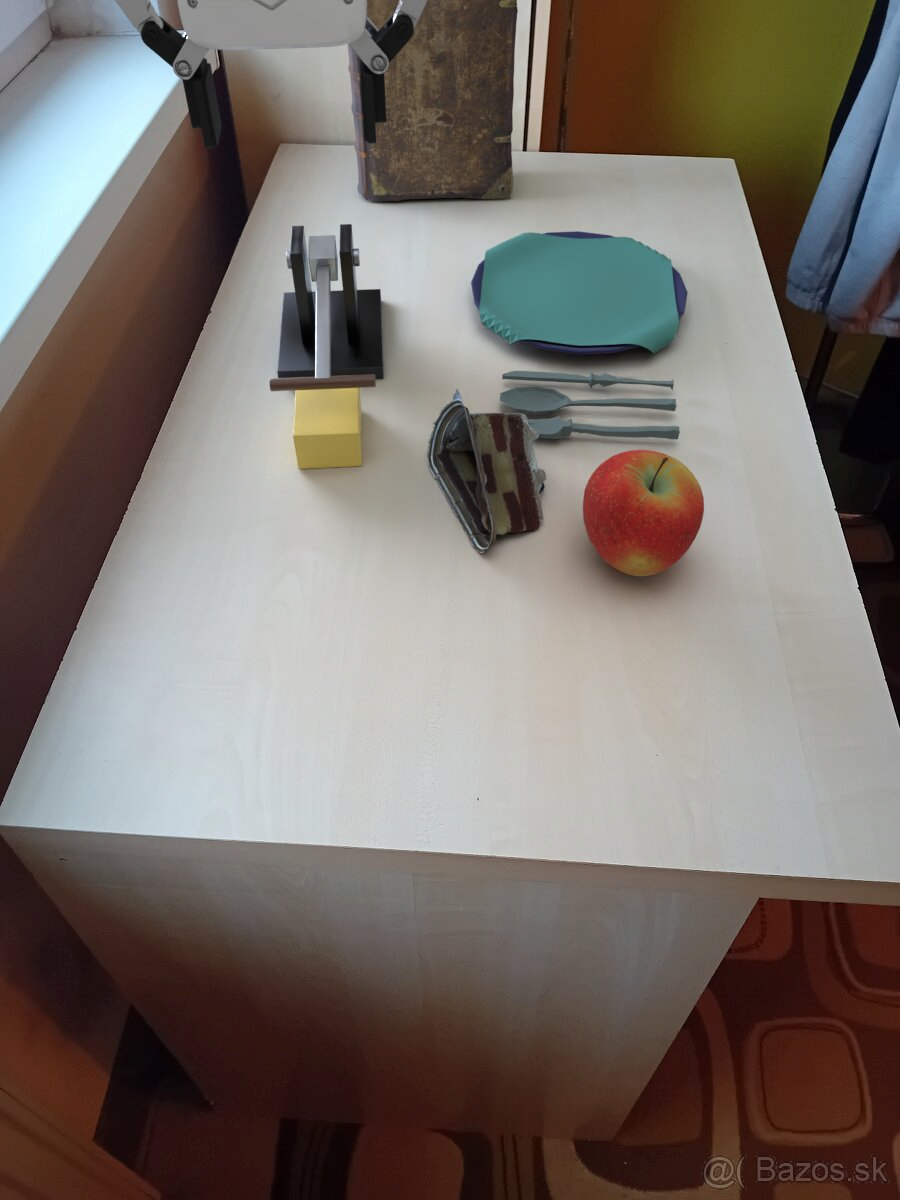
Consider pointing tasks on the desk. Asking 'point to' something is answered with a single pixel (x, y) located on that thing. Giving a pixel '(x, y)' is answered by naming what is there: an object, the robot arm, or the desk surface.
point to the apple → (642, 511)
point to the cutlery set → (580, 316)
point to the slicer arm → (323, 325)
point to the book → (442, 105)
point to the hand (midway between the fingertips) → (292, 136)
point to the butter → (328, 428)
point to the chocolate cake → (487, 471)
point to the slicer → (350, 317)
